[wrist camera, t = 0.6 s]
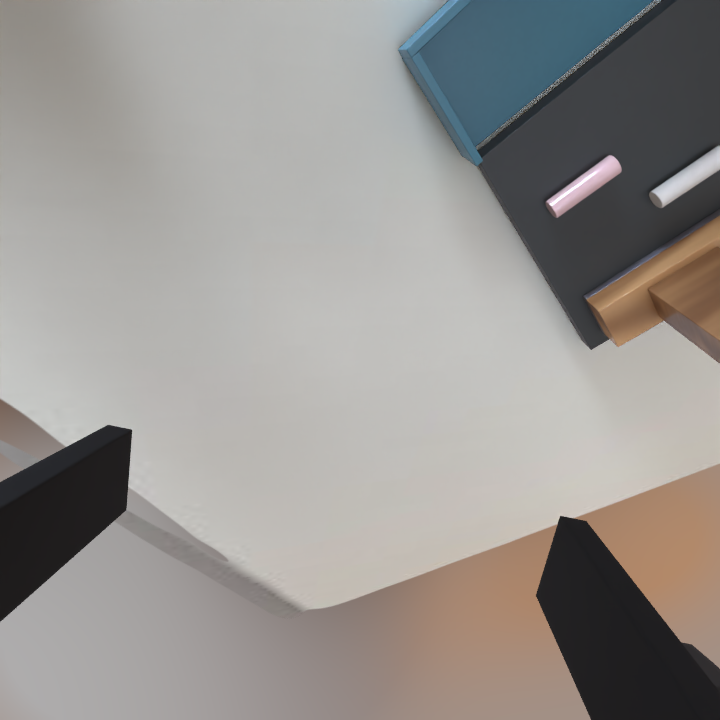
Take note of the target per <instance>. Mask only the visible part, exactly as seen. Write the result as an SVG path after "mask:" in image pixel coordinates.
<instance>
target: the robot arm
mask: <svg viewBox="0 0 720 720" xmlns="http://www.w3.org/2000/svg"><path fill="white" fill-rule="evenodd" d="M131 438H132V430H131V429H126V428H121V427H116V426H111V425H107V426H105V427H103V428H101V429H100V430H98V431H96V432H94V433H92V434H90V435H88V436H86V437H84V438H83V439H81V440H79V441H77V442H75V443H73V444H71V445H69V446H67V447H66V448H64V449H62V450H60V451H58V452H56V453H54V454H53V455H51V456H49V457H47V458H45V459H43V460H41V461H39V462H37V463H35V464H34V465H32V466H30V467H28V468H26V469H24V470H22V471H20V472H19V473H17V474H15V475H13V476H11V477H9V478H7V479H5V480H3V481H2V482H0V621H2V620H3V619H4V618H5V617H6V616H7V615H8V614H9V613H11V612H12V611H13V610H14V609H15V608H16V607H17V606H18V605H20V604H21V603H22V602H23V601H24V600H25V599H26V598H28V597H29V596H30V595H31V594H32V593H33V592H34V591H35V590H37V589H38V588H39V587H40V586H41V585H42V584H43V583H44V582H46V581H47V580H48V579H49V578H50V577H51V576H52V575H54V574H55V573H56V572H57V571H58V570H59V569H60V568H61V567H63V566H64V565H65V564H66V563H67V562H68V561H69V560H70V559H71V558H73V557H74V556H75V555H76V554H77V553H78V552H79V551H80V550H81V549H83V548H84V547H85V546H86V545H87V544H88V543H90V542H91V541H92V540H93V539H94V538H95V537H96V536H98V535H99V534H100V533H101V532H102V531H103V530H104V529H105V528H106V527H107V526H109V525H110V524H111V523H112V522H113V521H114V520H116V519H117V518H118V517H119V516H120V515H121V514H122V513H123V512H125V511H126V506H127V492H128V479H129V466H130V452H131ZM536 597H537V599H538V601H539V603H540V606H541V608H542V610H543V612H544V614H545V617H546V619H547V621H548V624H549V626H550V628H551V630H552V633H553V635H554V637H555V639H556V642H557V644H558V646H559V648H560V651H561V653H562V655H563V657H564V660H565V662H566V664H567V666H568V668H569V671H570V673H571V675H572V678H573V680H574V682H575V684H576V687H577V689H578V691H579V693H580V696H581V698H582V700H583V702H584V705H585V707H586V709H587V711H588V714H589V715H590V718H591V720H720V669H719V668H718V667H717V666H716V665H715V664H714V663H713V662H711V661H710V660H709V659H708V658H707V657H706V656H704V655H703V654H702V653H701V652H700V651H699V650H697V649H696V648H695V647H694V646H693V645H691V644H686V643H681V642H680V641H679V639H678V638H677V637H676V635H675V634H674V633H673V631H672V630H671V629H670V628H669V626H668V625H667V624H666V622H665V621H664V620H663V619H662V617H661V616H660V615H659V614H658V612H657V611H656V610H655V608H654V607H653V606H652V605H651V603H650V602H649V601H648V599H647V598H646V597H645V596H644V594H643V593H642V592H641V591H640V589H639V588H638V587H637V585H636V584H635V583H634V582H633V580H632V579H631V578H630V576H629V575H628V574H627V573H626V571H625V570H624V569H623V567H622V566H621V565H620V564H619V562H618V561H617V560H616V559H615V557H614V556H613V555H612V553H611V552H610V551H609V550H608V548H607V547H606V546H605V545H604V543H603V542H602V541H601V539H600V538H599V537H598V536H597V534H596V533H595V532H594V530H593V529H592V528H591V527H590V525H589V524H588V523H587V521H583V520H578V519H573V518H568V517H563V516H560V519H559V522H558V525H557V528H556V532H555V535H554V538H553V542H552V545H551V548H550V551H549V555H548V558H547V561H546V564H545V568H544V571H543V574H542V577H541V581H540V584H539V587H538V591H537V594H536Z"/></svg>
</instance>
